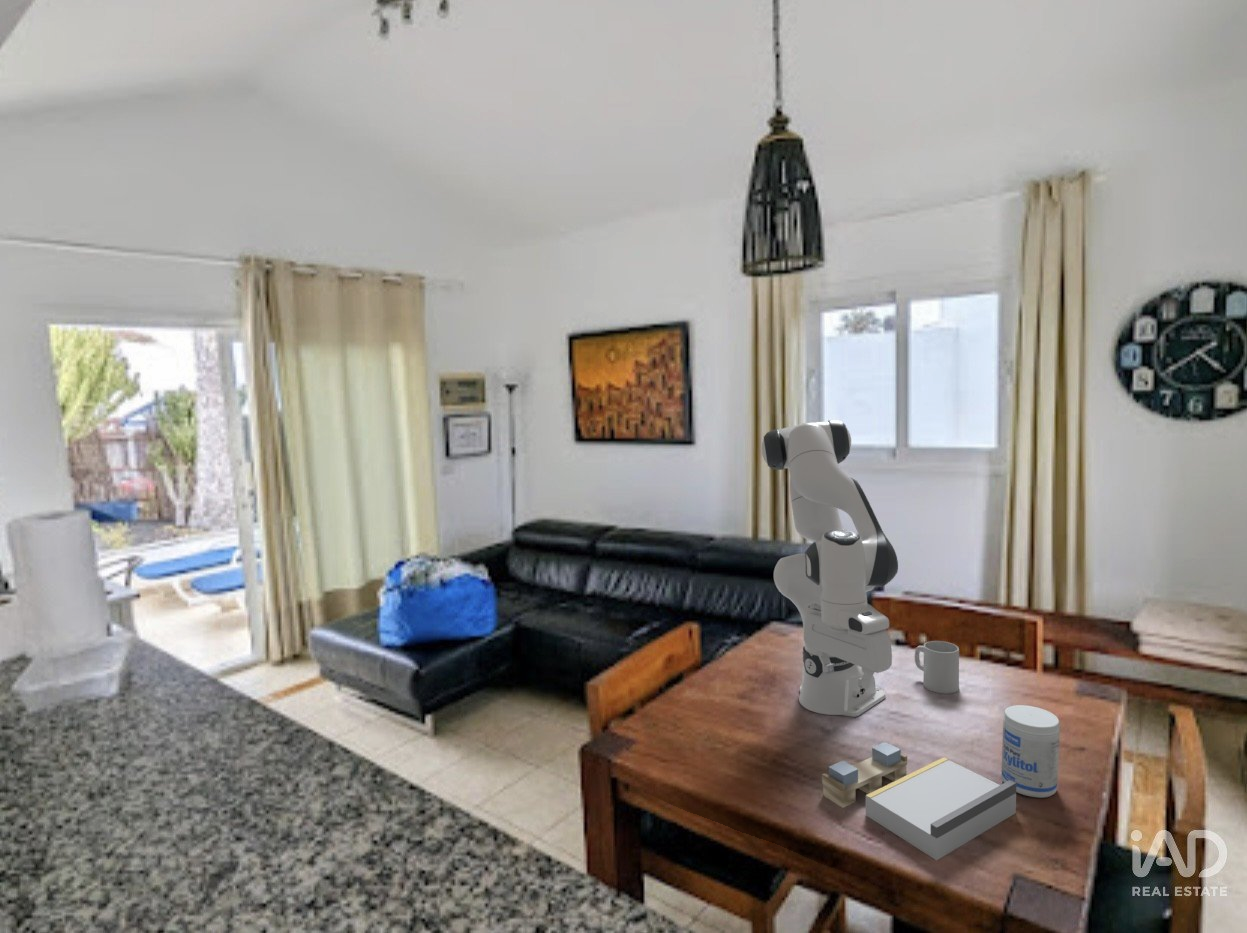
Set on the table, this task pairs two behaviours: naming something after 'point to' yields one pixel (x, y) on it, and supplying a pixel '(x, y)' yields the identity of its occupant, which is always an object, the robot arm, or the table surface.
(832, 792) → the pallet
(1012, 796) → the dock
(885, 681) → the table surface
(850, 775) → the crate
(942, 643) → the mug
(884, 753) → the block
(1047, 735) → the supplement tub
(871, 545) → the robot arm
